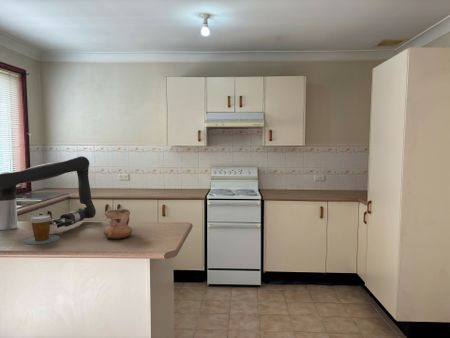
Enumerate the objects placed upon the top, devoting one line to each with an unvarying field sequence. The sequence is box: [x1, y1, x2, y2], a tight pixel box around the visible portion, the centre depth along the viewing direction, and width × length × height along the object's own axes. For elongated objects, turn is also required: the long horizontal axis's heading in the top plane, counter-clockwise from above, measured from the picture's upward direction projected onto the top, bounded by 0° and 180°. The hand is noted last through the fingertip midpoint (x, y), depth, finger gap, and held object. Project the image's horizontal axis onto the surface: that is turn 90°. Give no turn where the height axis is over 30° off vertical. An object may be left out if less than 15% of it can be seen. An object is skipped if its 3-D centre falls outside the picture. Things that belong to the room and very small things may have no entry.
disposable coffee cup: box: [30, 214, 52, 241], centre depth 168 cm, size 10×10×12 cm
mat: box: [24, 234, 61, 246], centre depth 169 cm, size 16×16×1 cm
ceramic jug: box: [103, 208, 133, 240], centre depth 174 cm, size 18×14×14 cm
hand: (50, 225), depth 175 cm, fingers open, 8 cm apart
